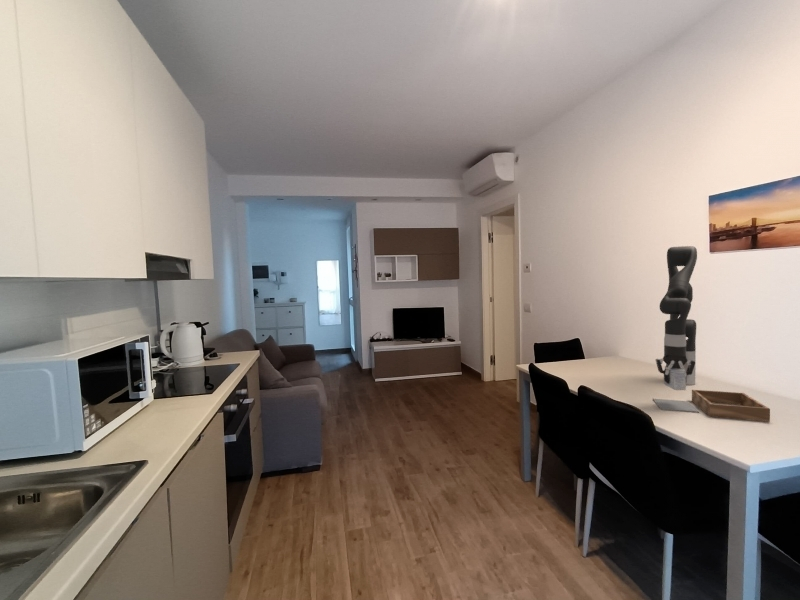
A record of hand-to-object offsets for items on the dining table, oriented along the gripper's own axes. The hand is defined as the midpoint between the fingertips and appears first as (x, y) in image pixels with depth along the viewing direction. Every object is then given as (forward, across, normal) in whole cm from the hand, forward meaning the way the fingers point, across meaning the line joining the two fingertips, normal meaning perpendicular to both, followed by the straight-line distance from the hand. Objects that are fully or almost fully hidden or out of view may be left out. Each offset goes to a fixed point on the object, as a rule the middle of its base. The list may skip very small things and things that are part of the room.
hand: (674, 383), depth 155 cm
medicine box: (+2, 0, 0) cm, 2 cm away
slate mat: (+10, 0, 0) cm, 10 cm away
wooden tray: (+10, -18, 0) cm, 21 cm away
